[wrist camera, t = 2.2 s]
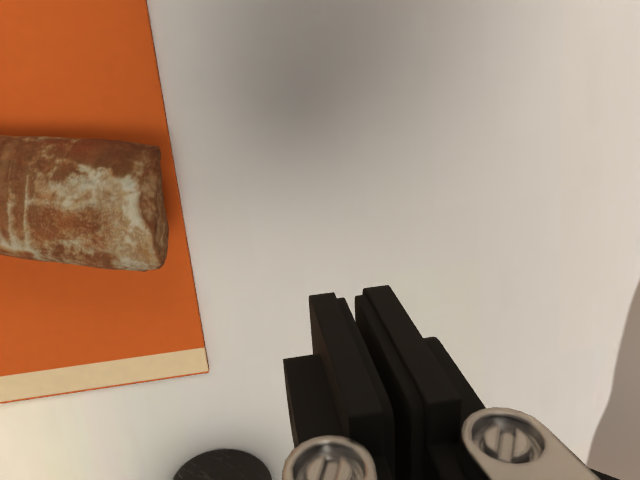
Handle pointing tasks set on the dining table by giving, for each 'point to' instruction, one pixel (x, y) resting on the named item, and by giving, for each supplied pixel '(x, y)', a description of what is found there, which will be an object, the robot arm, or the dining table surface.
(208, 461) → the travel mug
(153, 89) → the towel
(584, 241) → the dining table surface
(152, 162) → the bread
